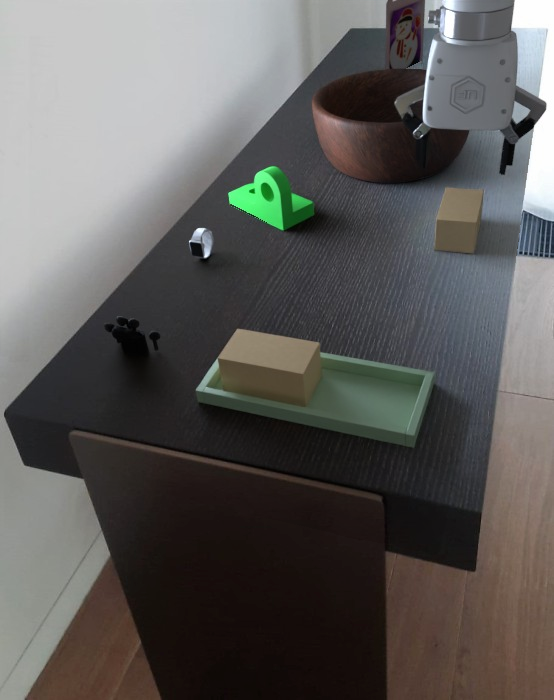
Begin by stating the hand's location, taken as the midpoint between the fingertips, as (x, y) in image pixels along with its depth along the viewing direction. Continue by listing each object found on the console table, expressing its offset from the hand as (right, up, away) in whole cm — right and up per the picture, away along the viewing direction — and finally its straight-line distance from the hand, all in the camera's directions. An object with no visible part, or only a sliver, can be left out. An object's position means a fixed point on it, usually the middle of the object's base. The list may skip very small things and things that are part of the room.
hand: (462, 167), depth 88 cm
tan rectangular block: (+1, -7, +6) cm, 9 cm away
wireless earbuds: (-39, -24, -9) cm, 47 cm away
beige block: (-24, -26, -15) cm, 39 cm away
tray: (-19, -27, -17) cm, 37 cm away
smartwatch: (-33, -10, +7) cm, 35 cm away
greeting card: (+1, +34, +58) cm, 67 cm away
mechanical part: (-24, -2, +16) cm, 29 cm away
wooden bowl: (-5, +8, +26) cm, 28 cm away
